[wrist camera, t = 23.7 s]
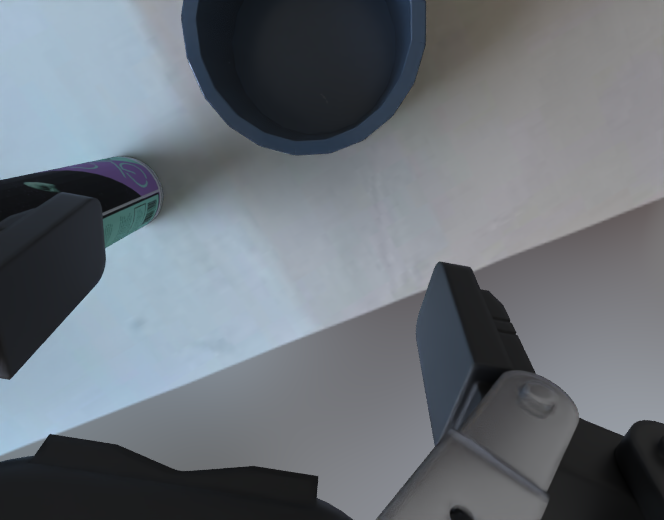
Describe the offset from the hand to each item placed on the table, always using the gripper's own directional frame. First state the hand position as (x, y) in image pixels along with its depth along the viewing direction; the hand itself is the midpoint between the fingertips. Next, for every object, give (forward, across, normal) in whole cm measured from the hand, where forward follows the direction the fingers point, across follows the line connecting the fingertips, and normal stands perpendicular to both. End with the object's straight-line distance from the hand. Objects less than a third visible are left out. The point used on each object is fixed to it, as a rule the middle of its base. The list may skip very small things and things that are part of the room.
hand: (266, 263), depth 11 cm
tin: (+25, +1, -2) cm, 25 cm away
